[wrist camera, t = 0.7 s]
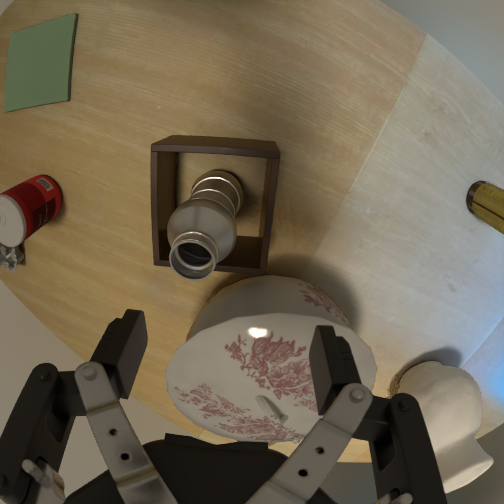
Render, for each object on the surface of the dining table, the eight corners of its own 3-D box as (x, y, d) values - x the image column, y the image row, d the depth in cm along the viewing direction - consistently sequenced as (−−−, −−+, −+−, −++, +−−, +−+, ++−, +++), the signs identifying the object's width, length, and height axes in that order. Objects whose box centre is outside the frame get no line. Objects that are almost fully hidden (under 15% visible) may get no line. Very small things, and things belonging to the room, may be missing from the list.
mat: (13, 34, 28) (10, 34, 27) (78, 13, 29) (75, 12, 28) (7, 111, 34) (4, 112, 34) (70, 100, 35) (67, 100, 34)
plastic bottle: (233, 219, 44) (218, 306, 26) (188, 201, 42) (142, 278, 25) (251, 178, 41) (249, 242, 23) (204, 159, 40) (163, 209, 22)
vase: (463, 332, 55) (525, 437, 28) (441, 390, 64) (479, 481, 38) (390, 352, 56) (439, 480, 29) (378, 408, 66) (406, 511, 39)
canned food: (25, 176, 40) (-18, 198, 30) (60, 171, 40) (16, 193, 30) (32, 218, 43) (-6, 247, 34) (67, 217, 43) (29, 248, 34)
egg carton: (-5, 207, 42) (-18, 215, 38) (21, 214, 43) (8, 223, 39) (1, 256, 47) (-11, 266, 43) (26, 265, 48) (15, 276, 44)
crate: (171, 135, 38) (150, 144, 30) (275, 141, 39) (280, 151, 31) (170, 235, 45) (153, 265, 37) (263, 242, 45) (265, 275, 37)
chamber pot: (215, 215, 43) (188, 305, 25) (378, 276, 48) (430, 368, 29) (170, 348, 55) (145, 441, 37) (301, 383, 60) (312, 471, 41)
